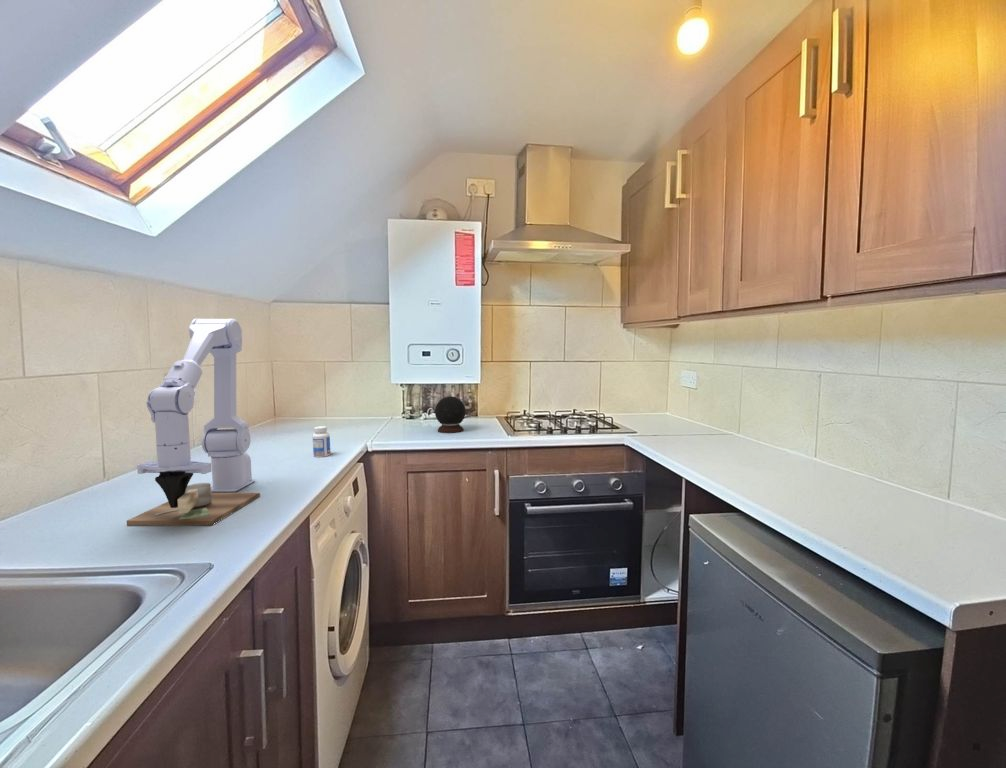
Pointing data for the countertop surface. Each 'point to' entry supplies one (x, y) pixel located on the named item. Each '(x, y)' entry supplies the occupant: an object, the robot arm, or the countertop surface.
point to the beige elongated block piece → (194, 497)
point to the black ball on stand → (450, 414)
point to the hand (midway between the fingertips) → (176, 506)
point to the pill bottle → (321, 442)
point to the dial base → (195, 511)
